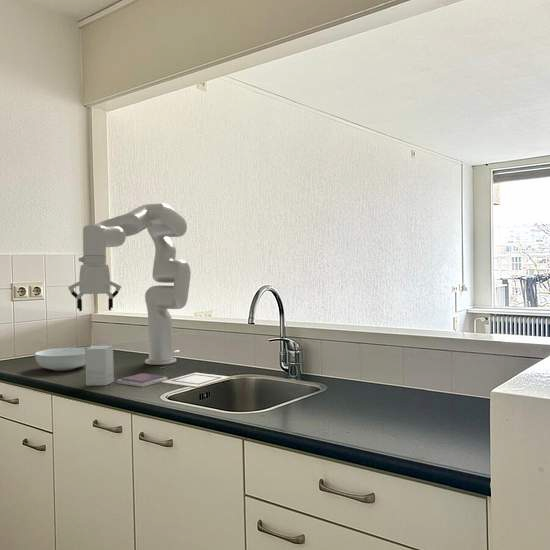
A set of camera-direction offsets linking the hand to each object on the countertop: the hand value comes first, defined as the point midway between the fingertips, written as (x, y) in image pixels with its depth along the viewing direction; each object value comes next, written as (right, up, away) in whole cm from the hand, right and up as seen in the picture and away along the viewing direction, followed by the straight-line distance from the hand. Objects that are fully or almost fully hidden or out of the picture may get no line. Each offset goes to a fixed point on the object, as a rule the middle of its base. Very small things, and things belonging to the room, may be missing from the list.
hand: (95, 310), depth 197 cm
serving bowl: (-21, -25, +28) cm, 43 cm away
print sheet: (+35, -24, +2) cm, 42 cm away
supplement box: (+2, -25, -1) cm, 25 cm away
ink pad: (+16, -25, 0) cm, 30 cm away
